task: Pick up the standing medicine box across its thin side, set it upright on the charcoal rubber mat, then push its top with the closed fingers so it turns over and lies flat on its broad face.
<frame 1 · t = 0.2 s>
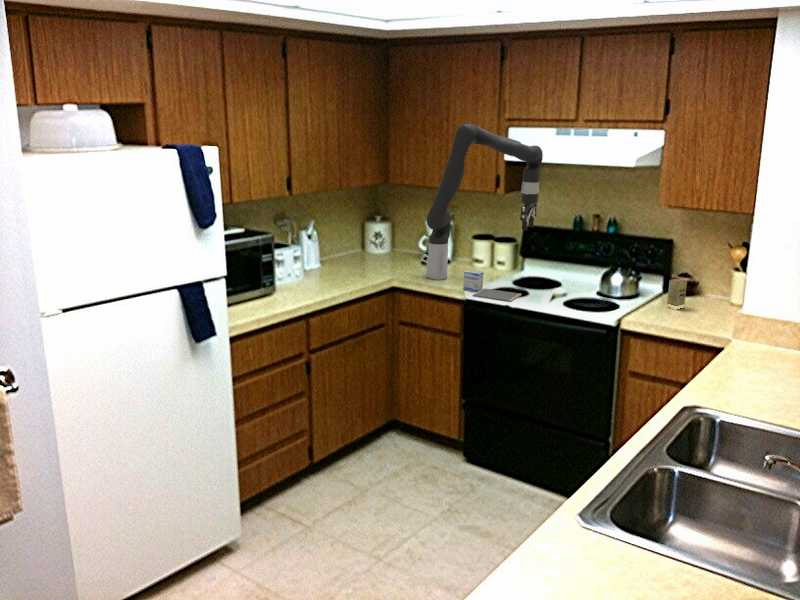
hand: (527, 228, 336), 29 cm above the counter, fingers open, 8 cm apart
medicine box: (472, 290, 344), on the counter
mat: (497, 295, 335), on the counter
shoe polish box: (675, 308, 320), on the counter
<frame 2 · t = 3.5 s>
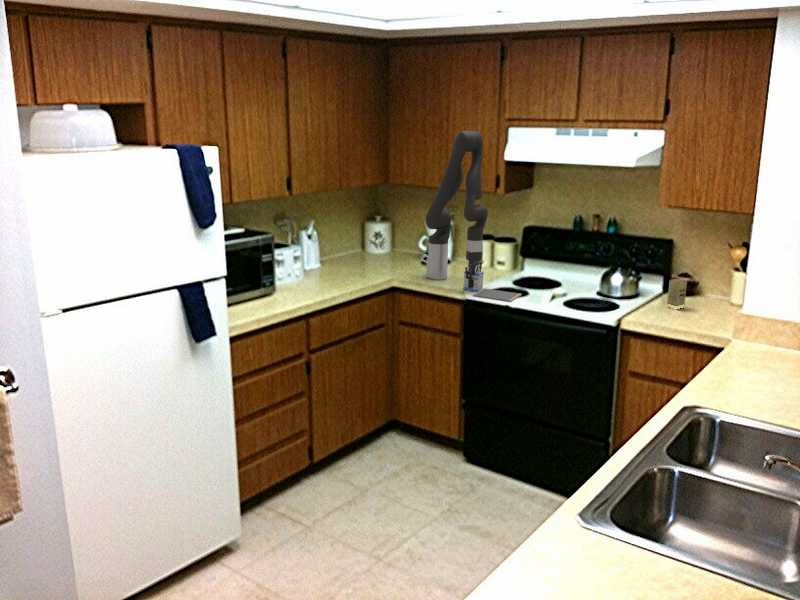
hand: (473, 286, 343), 2 cm above the counter, fingers closed on medicine box, 4 cm apart
medicine box: (472, 290, 344), on the counter, touching gripper
everything else where it was.
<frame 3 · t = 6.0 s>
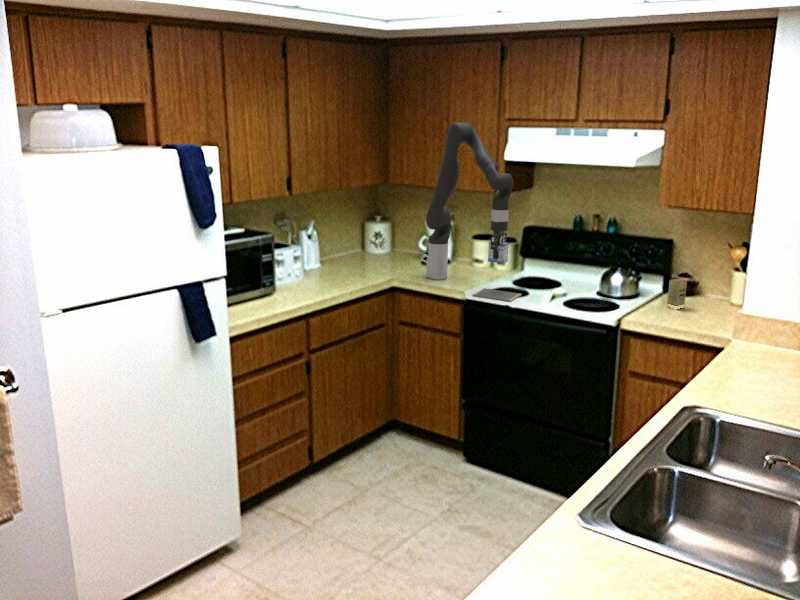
hand: (497, 257, 335), 16 cm above the counter, fingers closed on medicine box, 4 cm apart
medicine box: (497, 262, 336), point 14 cm above the counter, touching gripper
everything else where it was.
when the fingers open (3 cm above the counter, at t = 8.3 s): medicine box stays where it is, resting on mat.
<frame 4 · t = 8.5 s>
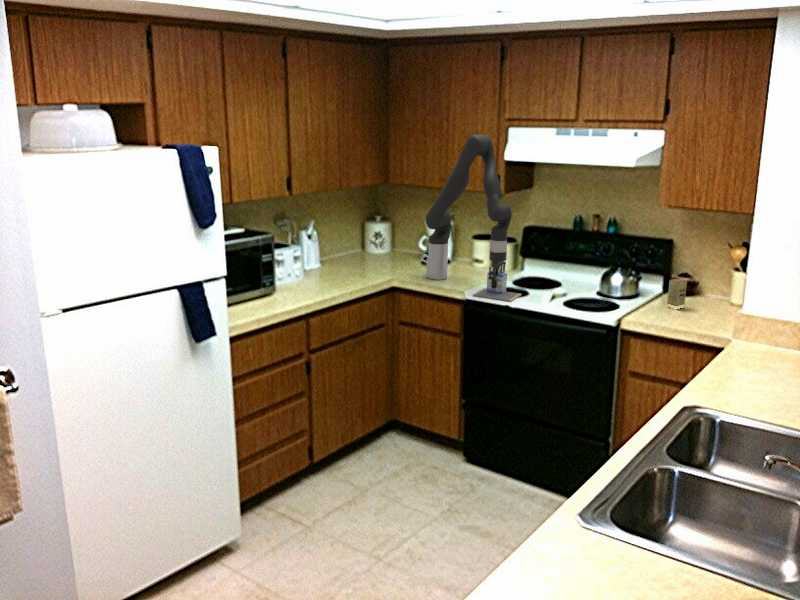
hand: (496, 286, 339), 3 cm above the counter, fingers open, 5 cm apart
medicine box: (496, 292, 339), resting on mat
everything else where it was.
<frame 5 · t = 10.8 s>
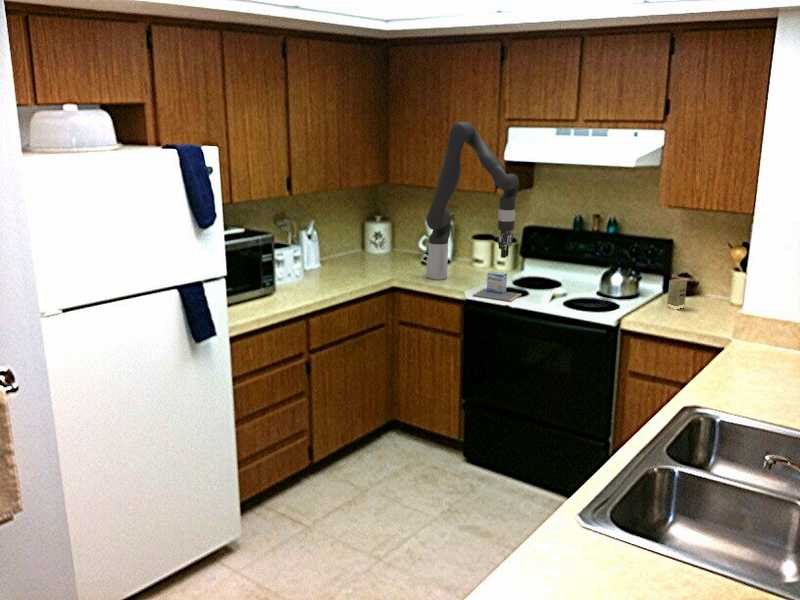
hand: (504, 256, 342), 15 cm above the counter, fingers closed
nothing on the counter moved.
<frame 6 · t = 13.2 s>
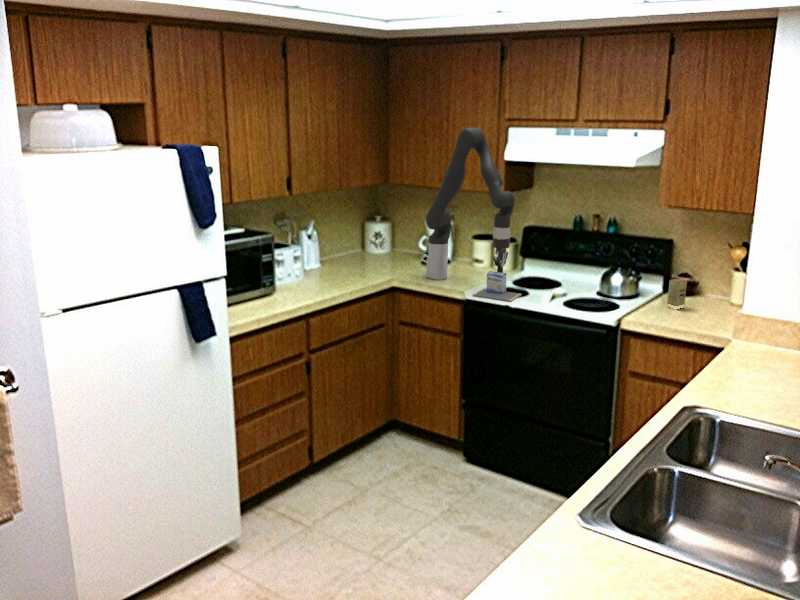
hand: (499, 274, 340), 8 cm above the counter, fingers closed
medicine box: (496, 291, 339), point 1 cm above the counter, touching gripper, mat
everything else where it was.
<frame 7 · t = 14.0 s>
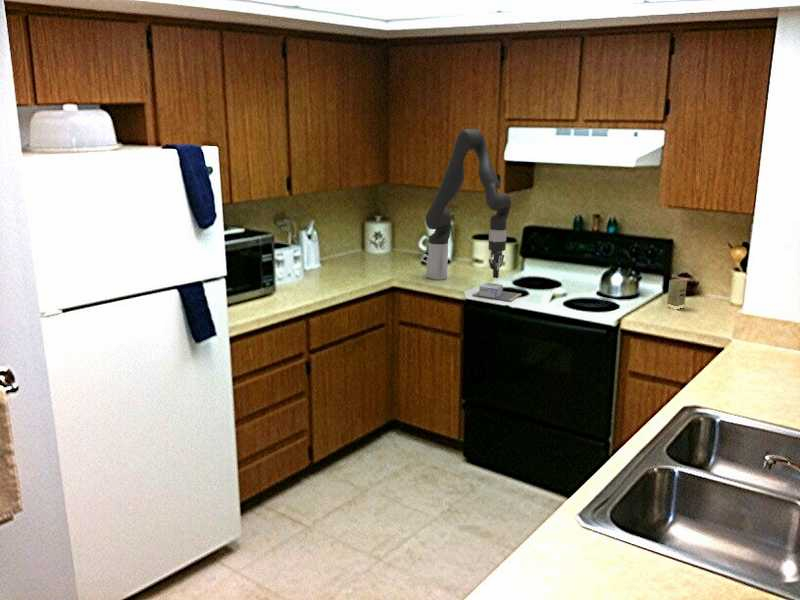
hand: (495, 277, 336), 8 cm above the counter, fingers closed
medicine box: (494, 287, 337), point 3 cm above the counter, touching mat
everything else where it was.
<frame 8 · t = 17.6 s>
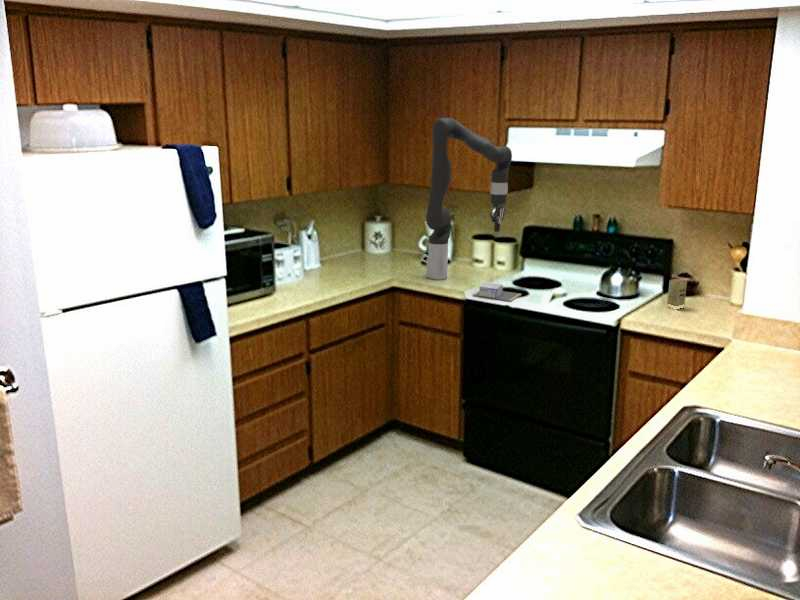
hand: (497, 231, 338), 27 cm above the counter, fingers closed
nothing on the counter moved.
at the end: medicine box tilted 90°; medicine box inside the target area (4.1 cm from its centre), point 2.8 cm above the counter; the gripper is holding nothing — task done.
